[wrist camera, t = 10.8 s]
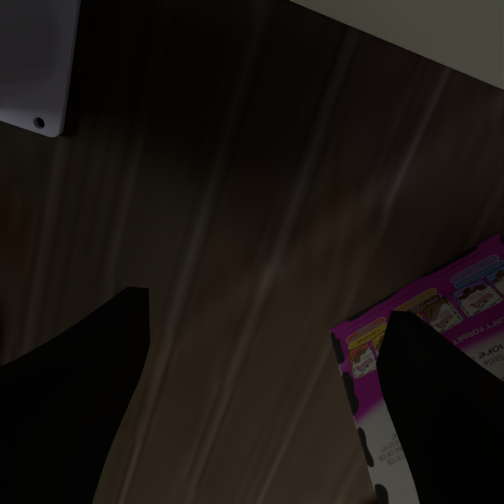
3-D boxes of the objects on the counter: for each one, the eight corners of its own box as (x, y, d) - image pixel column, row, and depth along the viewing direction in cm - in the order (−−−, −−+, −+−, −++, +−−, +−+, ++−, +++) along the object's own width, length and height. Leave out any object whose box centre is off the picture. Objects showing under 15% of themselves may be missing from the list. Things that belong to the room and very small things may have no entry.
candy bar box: (366, 376, 27) (503, 776, 12) (325, 327, 25) (427, 726, 10) (533, 290, 24) (994, 686, 9) (500, 227, 22) (1009, 593, 7)
